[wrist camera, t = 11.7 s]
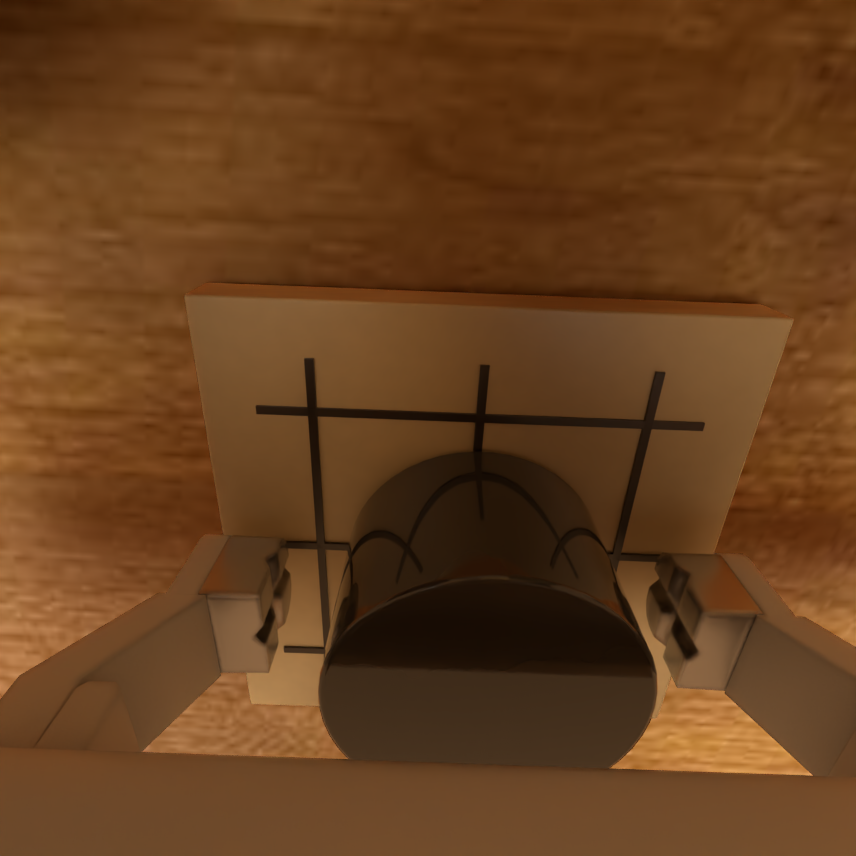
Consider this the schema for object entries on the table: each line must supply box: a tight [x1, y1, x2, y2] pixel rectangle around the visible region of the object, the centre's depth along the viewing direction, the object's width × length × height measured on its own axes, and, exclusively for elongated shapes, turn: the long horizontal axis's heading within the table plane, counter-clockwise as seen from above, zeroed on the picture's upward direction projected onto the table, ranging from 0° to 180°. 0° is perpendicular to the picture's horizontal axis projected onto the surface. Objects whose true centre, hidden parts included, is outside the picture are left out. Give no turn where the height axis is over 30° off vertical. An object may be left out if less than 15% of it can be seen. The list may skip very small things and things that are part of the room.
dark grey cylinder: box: [318, 451, 658, 769], centre depth 9 cm, size 5×5×3 cm
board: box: [184, 282, 794, 718], centre depth 11 cm, size 10×10×1 cm
